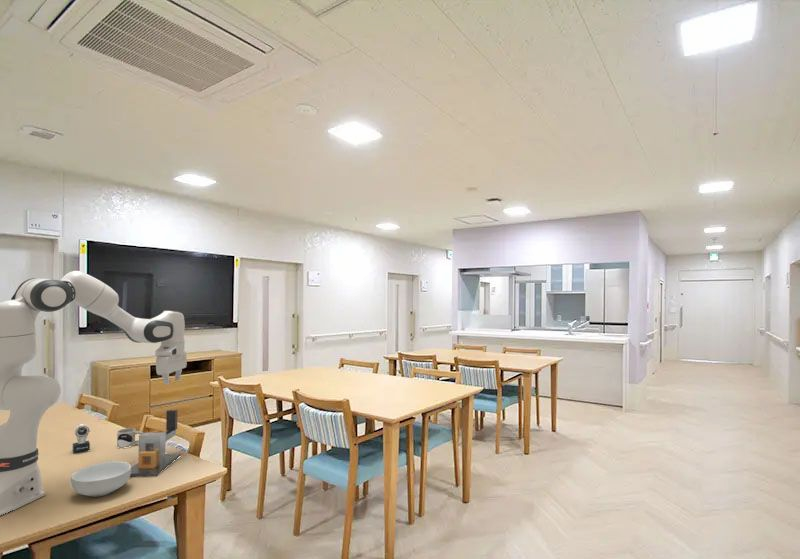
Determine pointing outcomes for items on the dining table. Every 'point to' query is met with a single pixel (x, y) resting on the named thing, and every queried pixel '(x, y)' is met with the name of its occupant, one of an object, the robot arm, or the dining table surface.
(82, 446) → the watch
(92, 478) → the cereal bowl
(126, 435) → the mug
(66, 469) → the dining table surface
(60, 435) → the dining table surface
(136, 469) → the stand
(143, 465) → the orange flat block
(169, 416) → the dark angled piece
